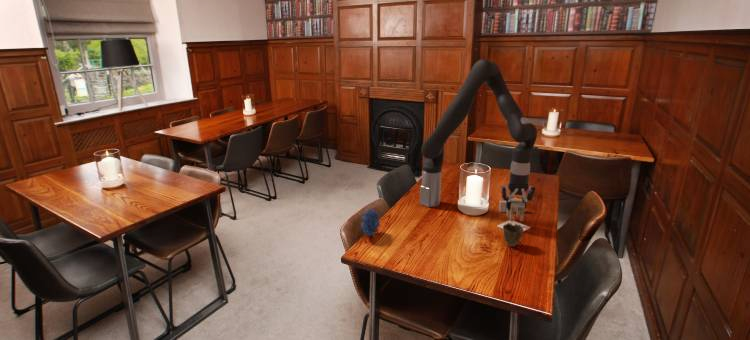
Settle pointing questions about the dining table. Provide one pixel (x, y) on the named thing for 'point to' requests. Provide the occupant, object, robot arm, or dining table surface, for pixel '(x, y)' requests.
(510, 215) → the stool
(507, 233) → the cup
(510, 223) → the mat
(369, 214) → the grapes
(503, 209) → the block
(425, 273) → the dining table surface
